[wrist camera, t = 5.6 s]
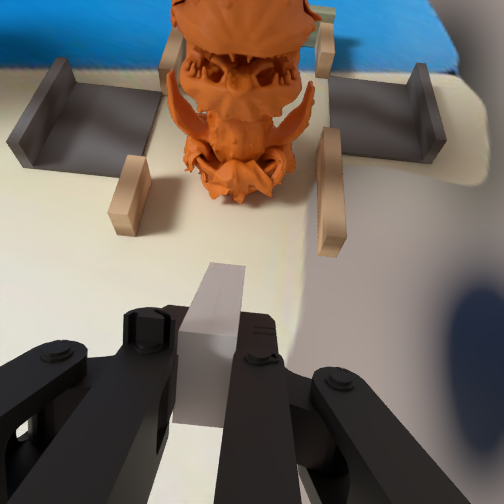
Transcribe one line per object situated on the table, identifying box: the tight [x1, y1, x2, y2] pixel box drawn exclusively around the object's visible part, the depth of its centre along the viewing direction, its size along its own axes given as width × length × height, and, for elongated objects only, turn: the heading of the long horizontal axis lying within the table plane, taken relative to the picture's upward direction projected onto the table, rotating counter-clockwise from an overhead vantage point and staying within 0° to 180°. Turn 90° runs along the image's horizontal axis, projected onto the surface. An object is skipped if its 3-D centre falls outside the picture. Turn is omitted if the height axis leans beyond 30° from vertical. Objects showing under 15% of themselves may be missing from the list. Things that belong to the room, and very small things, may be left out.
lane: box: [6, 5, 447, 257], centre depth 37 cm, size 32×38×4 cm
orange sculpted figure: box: [166, 0, 323, 204], centre depth 27 cm, size 11×11×18 cm
